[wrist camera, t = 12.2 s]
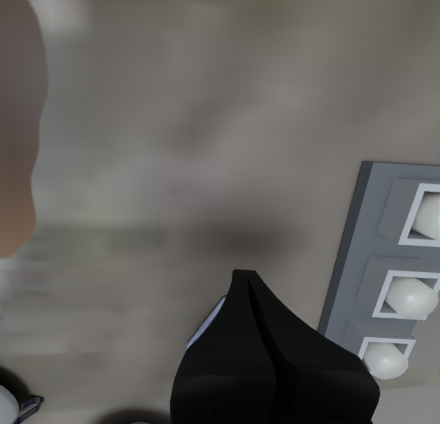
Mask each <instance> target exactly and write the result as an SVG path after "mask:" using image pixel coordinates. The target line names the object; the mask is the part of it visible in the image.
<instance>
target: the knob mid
mask: <svg viewBox="0 0 440 424" xmlns="http://www.w3.org/2000/svg"><path fill="white" fill-rule="evenodd" d="M384 301H385V302H386V303H387V304H388V305H390V306H391V307H392V308H393V309H394V310H395V311H396V312H397V313H398V314H399V315H400V316H401V317H403V318H405V319H419V318H422V317H425V316H427V315H428V314H430V313H431V312H432V311H433V310H434V309H435V307H436V306H437V304H438V295H437V293H436V292H435V291H434V290H433V289H431V288H430V287H428V286H427V285H425V284H424V283H422V282H421V281H419V280H418V279H417V278H415V277H399V276H393V278H392V280H391V283H390V286H389V288H388V291H387V294H386V296H385V299H384Z"/></svg>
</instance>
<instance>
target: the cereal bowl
mask: <svg viewBox="0 0 440 424" xmlns="http://www.w3.org/2000/svg"><path fill="white" fill-rule="evenodd" d="M131 424H150V423H146V422H135V423H131Z"/></svg>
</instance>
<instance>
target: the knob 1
mask: <svg viewBox="0 0 440 424" xmlns="http://www.w3.org/2000/svg"><path fill="white" fill-rule="evenodd" d="M363 359H364V361H365V362H366V364H367V365H368V367H369V368H370V370H371V372H372V373H373V374H374V376H376V377H377V378H380V379H393V378H396V377H398V376H400V375H402V374H403V373H404V372H405V371H406V370H407V368H408V361H407V359H406V358H405V357H404V355H403V354H402V353H401V352H400V351H399V350H398V349H397V347H396V346H395V345H394V344H393V343H383V342H368V345H367V348H366V350H365V353H364V356H363Z"/></svg>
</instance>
